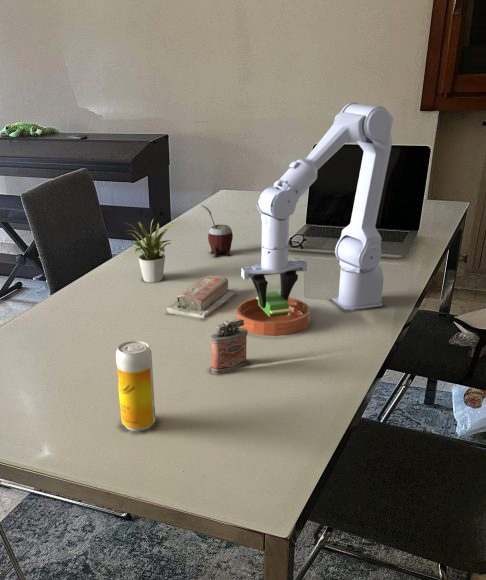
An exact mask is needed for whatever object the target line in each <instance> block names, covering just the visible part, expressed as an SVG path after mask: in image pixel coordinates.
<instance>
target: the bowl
mask: <svg viewBox="0 0 486 580" xmlns="http://www.w3.org/2000/svg"><path fill="white" fill-rule="evenodd" d="M287 302H288V303H289V309H290V310H291V312H289V314H288V315H283V316H276V317H269V316H268V315H267V314H266V313H265V312H264V311H263V310H262V309H261V307H260V306H259V305H258V299H257V298H256V297H253V298H249V299H247V300H244V301H243V302H241V303H239V304H238V305H237V306H236V309H235V313H236V315H235V320H237V319H240V318H242V319H243V320H244V326H240V327H239V328H245V329H247V330H248V333H250V334H251V333H252V334H255V335H261V336H285V335H291V334H295V333H298V332H300V331H303V330H305V329H306V328H307V327H308V326H309V324H310V322H311V307H310V305H309V304H308V303H306V302H305V301H302V300H300V299H297V298H294V297H289V298H288V301H287Z"/></svg>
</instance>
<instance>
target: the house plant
mask: <svg viewBox="0 0 486 580" xmlns="http://www.w3.org/2000/svg"><path fill="white" fill-rule="evenodd" d="M153 222H154V219H152V220H151V223H150V226H152V224H153ZM125 224H126V225H129V226H131V227H132V228H133V230H130V229H129V230H127V229H126V232H128V231H129V232H130V231H131V232H134V233H135V234H136V235H135V234H133V233H127V235H132V236H133V237H134V238H135V239H136V240H135V241H132V243H131V244H133V246H132V245H130V246H128V247H129V248H130V247H131V248H135V250H134V254H136V253H138V252H140V253H141V254H140V255H139V256H138V261H139V267H140V271H141V275H142V279H143V281H144V282H147V283H158V282H161V281H162V280H163V279H164V269H165V260H166V255H165V247H166V246H167V245H171V244H172V243H171V241H173V240H171V239H170V240H166V239H165V240H162V237H163V236H164V235H165V234H166V232H167V231H168V230H169V228H170V227H172V226H173V225H174V224H175V222H172V223H171V224H169V225H167V227H165V228H164V229H163V231H161V232H160V233H159V229H160V223H159V222H157V223H156V225H157V226H156V225H154V226H153V227H150V229H149V233H148V232H147V230H146V228H145V226H144V224H143V223H142V222H141V221H140V220H139V221H138V225H139V227H140V228H141V232H142V233H143V236H144V238H145V239H144V238H143V236H142V235H141V234H140V233H139V230H138V229H137V228H136V227H135V226H134V225H132V224H130V223H127V222H125ZM154 227H156V229H155V233H154V236H152V235H153V231H154ZM137 236H138V237H139V238H140V239H141V241H142V242H143V244H144V245H143V244H142V242H141V241H140V239H139V238H138V237H137ZM161 240H162V241H161ZM164 243H165V244H164ZM161 252H162V253H161Z"/></svg>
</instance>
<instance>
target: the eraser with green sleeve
mask: <svg viewBox="0 0 486 580" xmlns="http://www.w3.org/2000/svg"><path fill="white" fill-rule="evenodd" d="M255 298H257V299H258V305H259V306H260V303H259V298H258V296H256V297H255ZM260 307H261V306H260ZM261 309H262V310H263V311H264V312H265V313H266V314H267V315H268V316H269V317H276V316H283V315H288V314H289V312H291V310H290V309H289V303H288V302H287V301H286V300H285V299H284V298H283V297H282V296H281V293H279V292H278V291H276V290H275V291H268V292H267V291H266V306H265V308H262V307H261Z"/></svg>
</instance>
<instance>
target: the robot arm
mask: <svg viewBox="0 0 486 580" xmlns="http://www.w3.org/2000/svg"><path fill="white" fill-rule="evenodd" d="M393 121H394V117H393V115H391V112H389V111H388V109H387V108H386V107H385V106H383V105H378V106H377V105H370V104H361V103H357V102H349V103H347V104H346V105H345V106H343V108H342V109H341V111H340V112H338V113H337V114H336V115H335V117H334V121H333V124H332V125H331V127H330V128H328V130H327V131H326V133H325V134H324V135H323V136H322V138H321V139H320V140H319V141H318V143H317V144H316V145H315V146H314V148H313V149H312V150H311V151H310V152H309V154H308V155H307V156H306V157H305V158H303V159H301V158H300V159H296V161H292V162H291V163H290V164H289V165H288V166H289V168H288V169H287V170H286V172H284V173H283V175H282V176H281V177H280V178H279V179H278V180H276V181H274V183H273V186H269V187H267V188H265V189H264V190H263V191H262V192H261V193H260V195H259V198H258V201H256V208H257V210H258V212H259V213H260V220H261V253H260V255H261V261H260V263H257V264H255V265H251V266H247V267H241V268H240V269H241V271H240V274H241V275H240V276H241V278H242V279H243V280H248V279H250V280H251V281H252V284H253V285H254V288H255V291H256V294H257V297H258V298H259V303H260V306H261V307H262V308H265V306H266V293H267V289H268V283H269V282H268V280H266V277H265V276H271V275H279V277H280V295H281V296H282V297H283V298H284V299H285V300H286V301H288V298H290V294H291V293H292V290H293V288H294V286H295V284H296V282H297V281H298V278H299V274H298V273H297V272H303V273H304V272H308V262H307V261H306V260H304V259H303V260H289V241H290V239H289V238H290V237H289V236H290V217H291V216H292V215H293V214H294V213H295V211H296V208H297V203H298V202H299V201H300V200H299V199H300V198H301V197H302V196H303V195H304V193H306V192H307V190H308V189H309V188H310V187H311V186H312V185H313V184H314V183H315V182H316V180H317V179H318V170H319V169H321V167H322V166H324V165H325V163H327V162H328V160H330V158H332V157H333V156H334V155H335V154H336V153H337V152H338V151H340V149H341V148H342V147H343V146H344V145H346V144H349V143H356V144H357V145H358V146H359V147H360V148H361V149H362V151H363V154H362V159H361V165H360V169H359V177H358V180H357V186H356V192H355V196H354V201H353V208H352V212H351V218H350V223H349V224H348V225H347V226H346V227H344V228H343V229H342V230H341V234H340V237H339V239H338V241H337V243H336V245H335V249H334V255H335V258H336V259H337V260H338V261H339V266H340V272H339V273H340V274H339V286H338V296H336V297H331V300H333V302H335V303H336V304H337V305H338V306H340V307H341V308H342V309H344V310H347V311H348V310H354V311H356V310H362V309H363V310H364V309H371V308H377V307H379V308H380V307H383V303H382V298H383V289H384V273H383V272H384V271H383V269H382V267H381V266H380V265H379V264H380V261H381V259H382V257H383V256H382V255H383V253H382V252H383V251H382V240H383V239H382V237H381V234H380V232H379V231H378V229H377V227H376V225H377V218H378V215H379V210H380V204H381V200H382V196H383V191H384V186H385V180H386V174H387V170H388V165H389V160H390V155H391V150H392V144H393V142H392V132H391V131H392V127H393Z"/></svg>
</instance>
